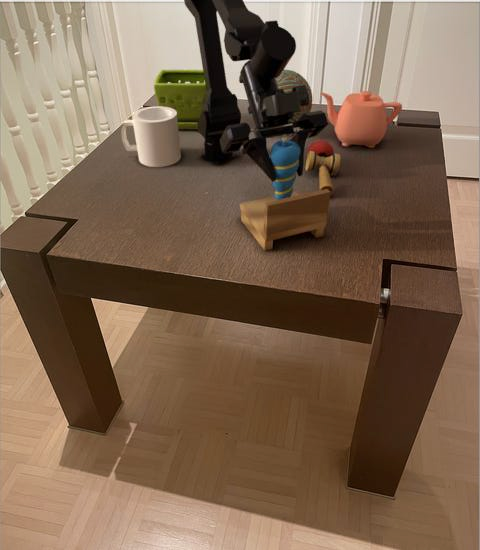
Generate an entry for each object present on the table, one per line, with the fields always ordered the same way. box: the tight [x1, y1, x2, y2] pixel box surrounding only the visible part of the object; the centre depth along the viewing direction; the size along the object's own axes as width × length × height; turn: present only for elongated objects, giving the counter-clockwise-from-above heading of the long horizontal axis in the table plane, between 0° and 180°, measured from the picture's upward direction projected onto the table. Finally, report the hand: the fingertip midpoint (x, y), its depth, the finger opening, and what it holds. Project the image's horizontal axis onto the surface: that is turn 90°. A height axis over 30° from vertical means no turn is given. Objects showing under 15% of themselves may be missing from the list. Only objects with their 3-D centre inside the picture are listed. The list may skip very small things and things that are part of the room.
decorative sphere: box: [276, 69, 313, 123], centre depth 120 cm, size 15×15×15 cm
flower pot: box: [153, 69, 206, 130], centre depth 124 cm, size 14×14×13 cm
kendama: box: [305, 139, 341, 197], centre depth 101 cm, size 8×6×18 cm
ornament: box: [269, 134, 300, 200], centre depth 80 cm, size 5×5×15 cm
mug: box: [120, 105, 182, 168], centre depth 108 cm, size 14×10×11 cm
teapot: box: [320, 90, 403, 149], centre depth 114 cm, size 13×20×12 cm, turn 81°
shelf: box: [239, 189, 331, 252], centre depth 84 cm, size 12×12×10 cm
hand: (287, 178), depth 79 cm, fingers closed on ornament, 5 cm apart
